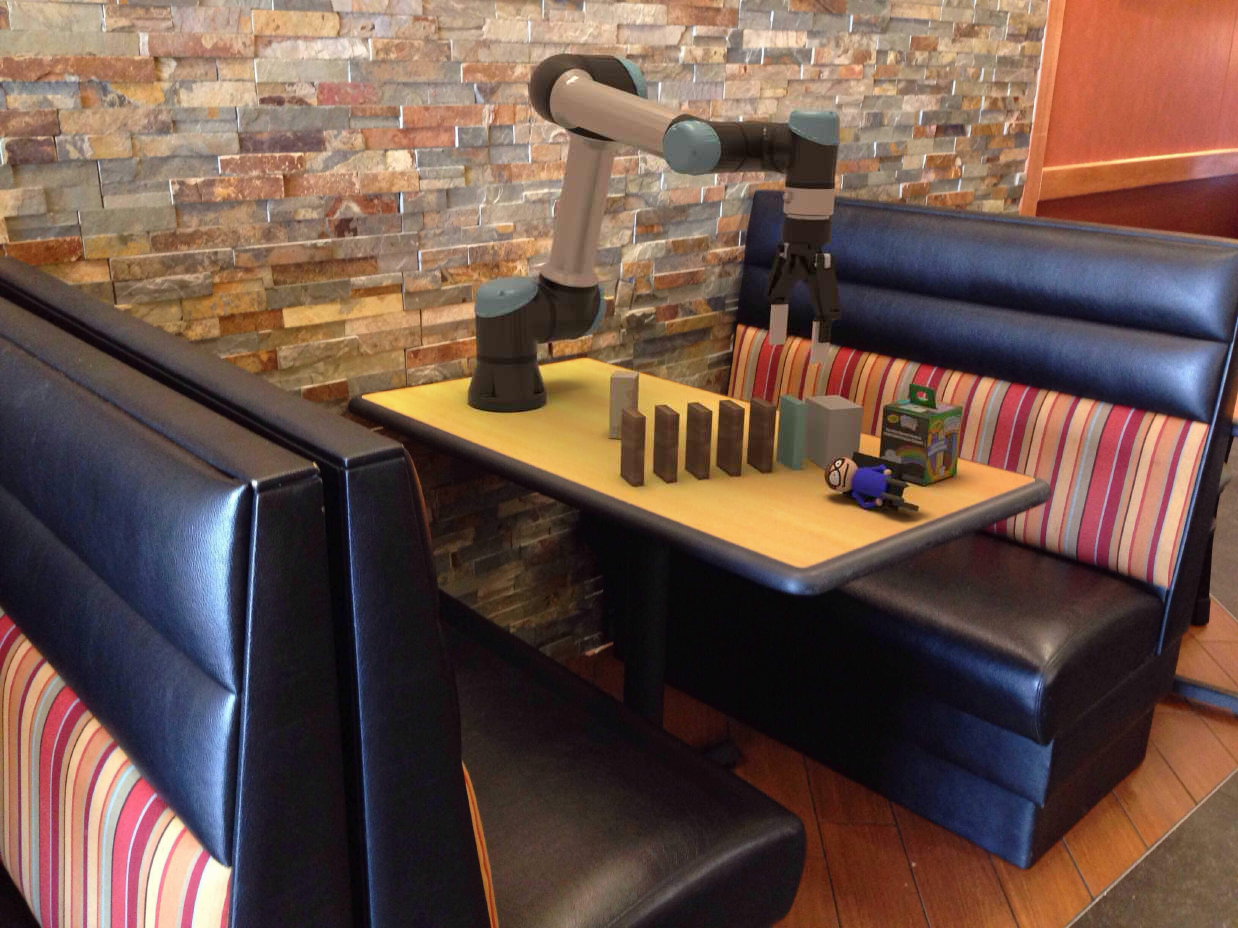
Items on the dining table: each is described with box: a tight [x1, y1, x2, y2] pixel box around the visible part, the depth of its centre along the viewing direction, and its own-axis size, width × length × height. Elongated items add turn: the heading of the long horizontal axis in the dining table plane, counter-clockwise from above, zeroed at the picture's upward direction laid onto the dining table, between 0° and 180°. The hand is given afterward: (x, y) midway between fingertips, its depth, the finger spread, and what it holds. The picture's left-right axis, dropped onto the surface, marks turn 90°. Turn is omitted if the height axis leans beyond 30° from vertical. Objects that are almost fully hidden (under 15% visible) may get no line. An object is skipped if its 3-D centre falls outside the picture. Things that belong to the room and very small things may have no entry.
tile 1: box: [619, 407, 647, 488], centre depth 169 cm, size 2×6×11 cm, turn 20°
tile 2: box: [652, 404, 681, 484], centre depth 170 cm, size 2×6×11 cm, turn 20°
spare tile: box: [775, 394, 807, 472], centre depth 178 cm, size 2×6×11 cm, turn 20°
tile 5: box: [746, 396, 778, 475], centre depth 176 cm, size 2×6×11 cm, turn 20°
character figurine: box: [823, 451, 925, 513], centre depth 161 cm, size 8×7×15 cm
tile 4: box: [715, 399, 746, 478], centre depth 174 cm, size 2×6×11 cm, turn 20°
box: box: [608, 370, 640, 440], centre depth 191 cm, size 5×4×11 cm
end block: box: [803, 394, 864, 470], centre depth 180 cm, size 8×6×10 cm
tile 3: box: [684, 401, 714, 481], centre depth 172 cm, size 2×6×11 cm, turn 20°
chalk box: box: [878, 382, 964, 487], centre depth 174 cm, size 9×9×15 cm
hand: (797, 353), depth 174 cm, fingers open, 13 cm apart
